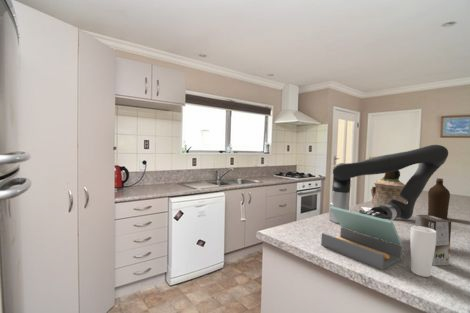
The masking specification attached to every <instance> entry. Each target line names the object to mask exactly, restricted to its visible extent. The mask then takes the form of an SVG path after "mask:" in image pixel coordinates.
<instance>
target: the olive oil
mask: <svg viewBox="0 0 470 313" xmlns="http://www.w3.org/2000/svg"><path fill="white" fill-rule="evenodd" d="M450 193H451V192H450V190H449V189H448V188H447V187H446V186H445V185H444V178H438V177H437V178H436V180H435V184H434V185H433V186H432V187H430V188H429V189H428V193H427V195H428V196H427V198H428V199H427V202H428V203H427V215H431V216H435V217H438V218H441V219H444V220H448V216H449V214H448V213H449V205H450V198H451V194H450Z"/></svg>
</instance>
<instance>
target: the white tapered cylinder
mask: <svg viewBox="0 0 470 313" xmlns="http://www.w3.org/2000/svg"><path fill="white" fill-rule="evenodd" d="M409 234H410V235H409V237H410V238H409V243H410V244H409V246H410V270H411V272H412V273H413V274H415V275H416V276H418V277H419V276H420V277H423V278H429V277H431V276H432V268H433V265H432V264H433V258H434V252H435V247H436V231H435V230H433V229H430V228H426V227H421V226H416V225H412V226H410V232H409Z"/></svg>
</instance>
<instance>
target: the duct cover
mask: <svg viewBox="0 0 470 313" xmlns="http://www.w3.org/2000/svg"><path fill="white" fill-rule="evenodd" d="M330 209H331V211H332V212H333V214H334V216H335V217H336V219H337V221H338V222H339V223H338V224H339V225H340V228H345V229H348V230H351V231H354V232H357V233H361V234H364V235H367V236H370V237H373V238H377V239H380V240H383V241H386V242H389V243H392V244H396V245H399V246H402V247H403V243H402V240H401V238H400V235H399V233H398V231H397V229H396V227H395V224H394V221H393V220H392V221H390V220H386V219H382V218H378V217H374V216H370V215H366V214H361V213H359V212H356V211H352V210H350V209H349V210H345V209H341V208H337V207H333V206H331V207H330V206H329V210H330Z"/></svg>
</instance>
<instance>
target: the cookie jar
mask: <svg viewBox="0 0 470 313" xmlns="http://www.w3.org/2000/svg"><path fill="white" fill-rule="evenodd" d="M400 177H401V171H400V170H397V171H394V172H389V173H384V176H383V177H381V178H380V179H379V180H378V179H377V180H376V181H374V185H375V186H372V188H371V189H370V193H371V196H372V197H371V204H372V205H373V207H375V206H379V205H386V204H388V203H389V201H390V200H397V201H400V202H402V203H404V204H407V203H408V202H407V201H406V200H404V199H403V198H402V197H401V196H400V192H401V191H402V189H403V188H404V186H405V185H406V184H405V183H403V182H402V181H400ZM373 207H366V206H360V208H361V210H362V211H364V212H366V211H370V210H371V209H372V208H373ZM396 220H404V219H402V218H400V217H399V218H397V219H396ZM406 221H413V222H416V215H412V216H411V218H409V219H407V220H406Z"/></svg>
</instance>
